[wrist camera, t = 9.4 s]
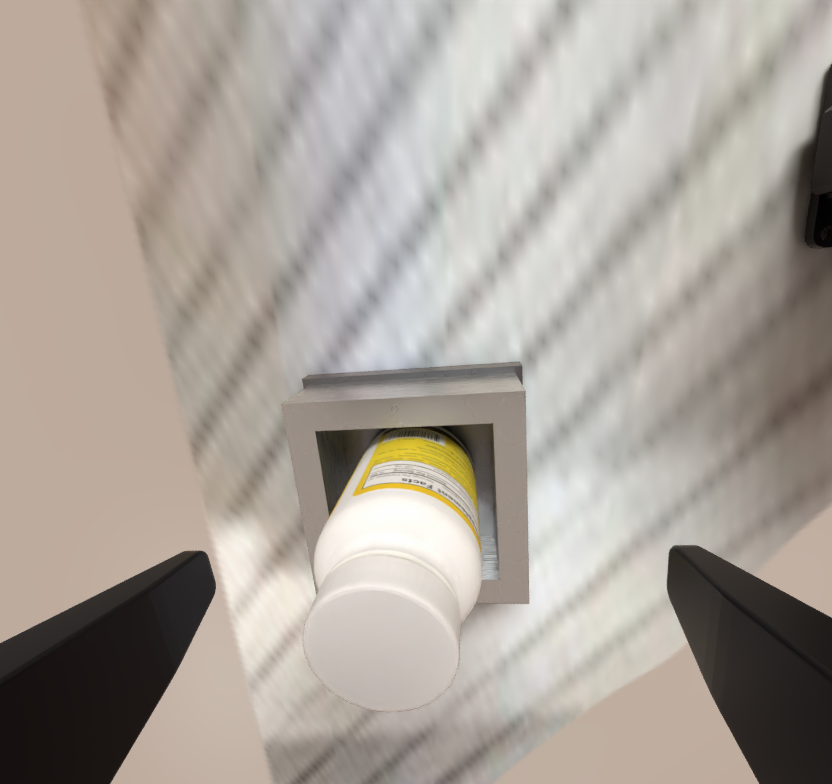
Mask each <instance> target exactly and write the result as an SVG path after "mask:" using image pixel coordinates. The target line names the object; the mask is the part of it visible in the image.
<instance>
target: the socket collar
mask: <svg viewBox="0 0 832 784" xmlns="http://www.w3.org/2000/svg"><path fill="white" fill-rule="evenodd" d="M302 381H303V387H304V389H303V390H301V391H300V392H298V393H297V394H295V395H294V396H293V397H291V398H290V399H288V400H287V401H285V402H284V403H282V410H283V415H284V421H285V426H286V432H287V437H288V442H289V448H290V453H291V459H292V464H293V470H294V475H295V481H296V486H297V492H298V497H299V502H300V508H301V513H302V519H303V524H304V530H305V535H306V541H307V546H308V551H309V557H310V562H311V568H312V573H313V579H314V584H315V590H316V595H317V593H318V591H319V590H318V587H317V584H316V580H315V575H314V554H315V549H316V545H317V542H318V539H319V536H320V534H321V532H322V530H323V528H324V526H325V524H326V522H327V520H328V518H329V516H330V515H331V513H332V511H333V509H334V507H335V506H336V504H337V502H338V500H339V498H340V496H341V495H342V493H343V491H344V489H345V487H346V485H347V483H348V482H349V480H350V478H351V476H352V475H353V473H354V471H355V469H356V467H357V465H358V463H359V462H360V460H361V458H362V456H363V455H364V453H365V451H366V449H367V448H368V446H369V445H370V444H371V442H372V441H373V440H374V439H375V438H376V437H377V436H378V435H379V434H380V433H382V432H383V431H384V430H386V429H388V428H399V427H421V426H439V427H442V428H444V429H446V430H447V431H449V432H450V433H452V434H453V435H454V436H455V437H456V438H457V439H458V440H459V441H460V442H461V443H462V444H463V445H464V447H465V448H466V450H467V451H468V453H469V455H470V457H471V460H472V463H473V467H474V472H475V480H476V492H477V504H478V518H479V531H480V542H481V555H482V581H481V588H480V592H479V595H478V598H477V601H476V603H503V604H529V558H528V504H527V449H526V395H525V389H524V387H523V383H522V364H521V363H520V362H509V363H493V364H478V365H462V366H446V367H430V368H415V369H399V370H383V371H368V372H352V373H336V374H321V375H308V376H307V377H305V378H303V379H302Z"/></svg>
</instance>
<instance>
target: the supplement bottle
mask: <svg viewBox="0 0 832 784" xmlns="http://www.w3.org/2000/svg"><path fill="white" fill-rule="evenodd" d="M314 575H315V580H316V584H317V587H318V590H319V591H318V593H317V596H316V598H315V600H314V603H313V605H312V607H311V609H310V612H309V614H308V616H307V619H306V622H305V625H304V631H303V648H304V653H305V656H306V659H307V662H308V664H309V666H310V668H311V670H312V671H313V673H314V674H315V676H316V677H317V678H318V679H319V680H320V682H321V683H322V684H323V685H324V686H325V687H326V688H327V689H328V690H330V691H331V692H333V693H334V694H335V695H337V696H338V697H340V698H342V699H344V700H345V701H347V702H349V703H351V704H354V705H356V706H359V707H362V708H365V709H370V710H374V711H383V712H400V711H408V710H412V709H416V708H419V707H421V706H424V705H426V704H428V703H430V702H432V701H434V700H436V699H437V698H438V697H439V696H441V695H442V694H443V693H444V692H445V691H446V690H447V688H448V687H449V686H450V685H451V683H452V681H453V679H454V678H455V675H456V672H457V669H458V666H459V660H460V632H461V623H462V622H463V621H464V620H465V619H466V618H467V616H468V615H469V614H470V612H471V611H472V609H473V607H474V605H475V603H476V601H477V598H478V595H479V592H480V588H481V581H482V555H481V542H480V531H479V518H478V504H477V492H476V480H475V472H474V467H473V463H472V460H471V457H470V455H469V453H468V451H467V450H466V448H465V447H464V445H463V444H462V443H461V442H460V441H459V440H458V439H457V438H456V437H455V436H454V435H453V434H452V433H450V432H449V431H447V430H446V429H444V428H442V427H439V426H421V427H399V428H388V429H386V430H384V431H383V432H382V433H380V434H379V435H378V436H377V437H376V438H375V439H374V440H373V441H372V442H371V444H370V445H369V446H368V448H367V449H366V451H365V453H364V455H363V456H362V458H361V460H360V462H359V463H358V465H357V467H356V469H355V471H354V473H353V475H352V476H351V478H350V480H349V482H348V483H347V485H346V487H345V489H344V491H343V493H342V495H341V496H340V498H339V500H338V502H337V504H336V506H335V507H334V509H333V511H332V513H331V515H330V516H329V518H328V520H327V522H326V524H325V526H324V528H323V530H322V532H321V534H320V536H319V539H318V542H317V545H316V549H315V554H314Z"/></svg>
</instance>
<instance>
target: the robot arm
mask: <svg viewBox="0 0 832 784" xmlns="http://www.w3.org/2000/svg"><path fill="white" fill-rule="evenodd" d="M811 189H812V191H811V197H810V204H809V211H808V217H807V224H806V230H805V242H806V244H807V245H808V246H809V247H811V248H826V247H832V65H831V68H830V73H829V80H828V86H827V93H826V99H825V106H824V113H823V115H822V118H821V125H820V131H819V138H818V144H817V151H816V157H815V164H814V171H813V177H812V184H811ZM824 228H825V229H826V231H827V235H826V237H825V238H824V239H822V238H821V232H822V230H823V229H824ZM215 589H216V583H215V579H214V575H213V572H212V568H211V565H210V561H209V558H208V555H207V554H206V553H205V552H203V551H184V552H182V553H180V554H178V555H176V556H174V557H172V558H170V559H168V560H166V561H164V562H162V563H160V564H158V565H156V566H154V567H152V568H150V569H148V570H146V571H144V572H142V573H140V574H138V575H136V576H134V577H132V578H130V579H128V580H126V581H124V582H122V583H120V584H118V585H116V586H114V587H112V588H110V589H108V590H106V591H104V592H102V593H100V594H98V595H96V596H94V597H92V598H90V599H88V600H86V601H84V602H82V603H80V604H78V605H76V606H74V607H72V608H70V609H68V610H66V611H64V612H62V613H60V614H58V615H56V616H54V617H52V618H50V619H48V620H46V621H44V622H42V623H40V624H38V625H36V626H34V627H32V628H30V629H28V630H26V631H24V632H22V633H20V634H18V635H16V636H14V637H12V638H10V639H8V640H6V641H4V642H2V643H0V784H110V783H111V781H112V780H113V778H114V776H115V775H116V773H117V771H118V770H119V768H120V766H121V764H122V763H123V761H124V760H125V758H126V756H127V755H128V753H129V751H130V749H131V748H132V746H133V744H134V743H135V741H136V739H137V738H138V736H139V734H140V732H141V731H142V729H143V728H144V726H145V724H146V723H147V721H148V719H149V718H150V716H151V714H152V712H153V711H154V709H155V707H156V706H157V704H158V702H159V701H160V699H161V697H162V696H163V694H164V692H165V691H166V689H167V687H168V685H169V684H170V682H171V680H172V678H173V677H174V675H175V673H176V671H177V669H178V667H179V666H180V664H181V662H182V660H183V658H184V656H185V653H186V652H187V650H188V647H189V646H190V643H191V641H192V639H193V637H194V635H195V633H196V631H197V629H198V627H199V625H200V623H201V621H202V619H203V617H204V615H205V613H206V611H207V609H208V607H209V605H210V603H211V601H212V599H213V596H214V594H215ZM667 591H668V595H669V598H670V601H671V603H672V606H673V608H674V610H675V613H676V615H677V617H678V620H679V622H680V624H681V627H682V629H683V631H684V634H685V636H686V638H687V641H688V643H689V645H690V648H691V650H692V652H693V654H694V657H695V659H696V661H697V663H698V666H699V668H700V671H701V673H702V675H703V678H704V680H705V682H706V684H707V686H708V688H709V691H710V693H711V695H712V697H713V699H714V700H715V703H716V705H717V707H718V709H719V711H720V712H721V714H722V716H723V718H724V720H725V721H726V723H727V725H728V727H729V729H730V731H731V732H732V734H733V736H734V738H735V740H736V742H737V744H738V745H739V747H740V749H741V751H742V753H743V755H744V756H745V758H746V760H747V762H748V764H749V766H750V767H751V769H752V771H753V773H754V775H755V777H756V778H757V780H758V782H759V784H832V618H831V617H829V616H827V615H826V614H824V613H822V612H820V611H818V610H816V609H814V608H813V607H810V606H809V605H807V604H805V603H803V602H802V601H800V600H798V599H796V598H794V597H792V596H790V595H789V594H787V593H785V592H783V591H781V590H779V589H777V588H776V587H774V586H772V585H770V584H768V583H766V582H764V581H762V580H761V579H759V578H757V577H755V576H753V575H752V574H750V573H748V572H746V571H744V570H742V569H740V568H739V567H737V566H735V565H733V564H731V563H729V562H727V561H726V560H724V559H722V558H720V557H718V556H716V555H714V554H713V553H711V552H709V551H707V550H705V549H703V548H701V547H699V546H696V545H675V546H673V547H672V548H671V549H670V551H669V559H668V574H667Z"/></svg>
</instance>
